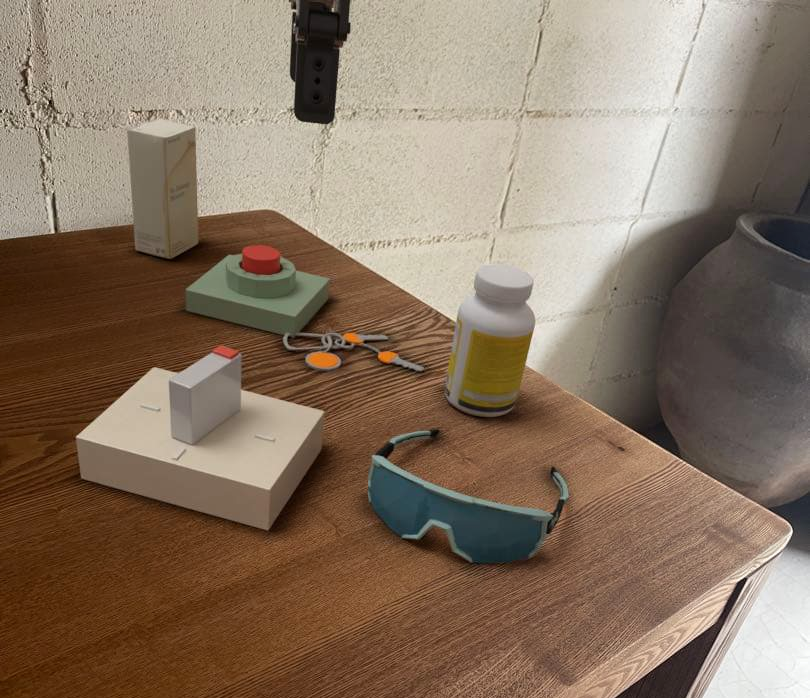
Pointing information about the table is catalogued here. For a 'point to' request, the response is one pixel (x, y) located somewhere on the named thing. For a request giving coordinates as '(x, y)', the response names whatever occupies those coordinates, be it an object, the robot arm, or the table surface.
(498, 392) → the pill bottle
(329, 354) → the key chain
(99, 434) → the base
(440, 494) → the sunglasses
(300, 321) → the button box
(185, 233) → the cosmetic box
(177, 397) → the grey flat block
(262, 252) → the button
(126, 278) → the table surface
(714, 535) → the table surface
